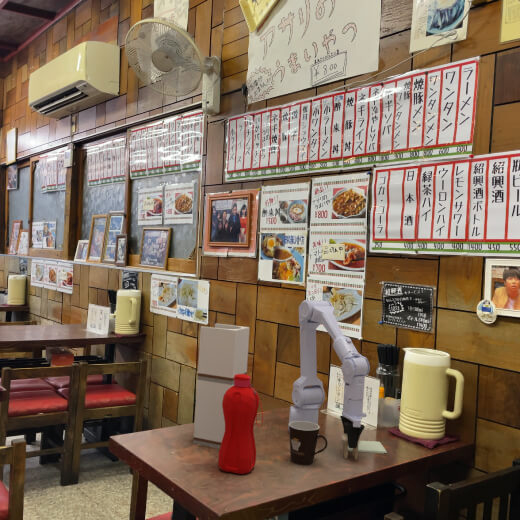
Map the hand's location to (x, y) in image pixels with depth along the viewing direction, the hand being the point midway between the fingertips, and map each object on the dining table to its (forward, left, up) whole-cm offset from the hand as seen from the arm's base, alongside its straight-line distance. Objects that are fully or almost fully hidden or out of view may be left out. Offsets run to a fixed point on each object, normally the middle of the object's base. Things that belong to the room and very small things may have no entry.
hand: (350, 444), depth 159 cm
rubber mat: (+6, +9, -4) cm, 11 cm away
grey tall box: (-39, +6, -4) cm, 40 cm away
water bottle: (-32, -14, -4) cm, 35 cm away
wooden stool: (0, 0, -4) cm, 4 cm away
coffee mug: (-14, -7, -4) cm, 16 cm away
